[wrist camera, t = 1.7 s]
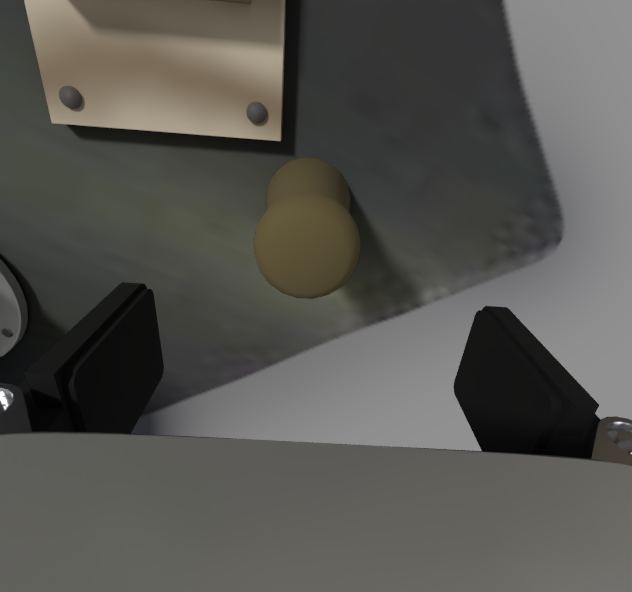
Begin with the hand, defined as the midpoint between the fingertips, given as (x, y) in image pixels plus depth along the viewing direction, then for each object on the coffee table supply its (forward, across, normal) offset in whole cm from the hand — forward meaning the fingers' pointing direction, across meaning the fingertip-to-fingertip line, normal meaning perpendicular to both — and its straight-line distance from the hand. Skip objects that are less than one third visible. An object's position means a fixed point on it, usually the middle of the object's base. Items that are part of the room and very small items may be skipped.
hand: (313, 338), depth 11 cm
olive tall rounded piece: (+18, 0, 0) cm, 18 cm away
